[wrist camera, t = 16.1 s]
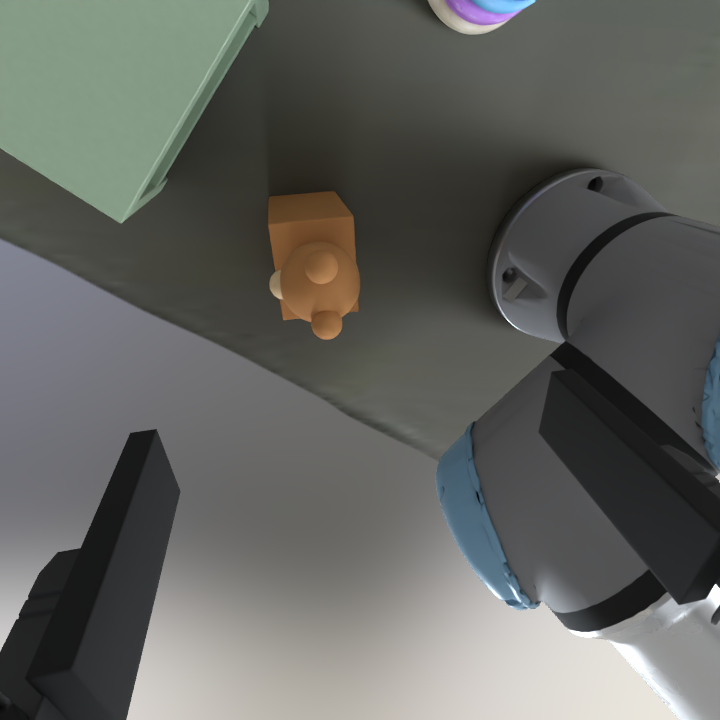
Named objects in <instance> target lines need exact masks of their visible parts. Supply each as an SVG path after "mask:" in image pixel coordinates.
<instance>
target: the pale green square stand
mask: <svg viewBox="0 0 720 720" xmlns="http://www.w3.org/2000/svg"><path fill="white" fill-rule="evenodd" d="M268 12H269V0H0V148H1V149H2V150H4V151H5V152H7V153H9V154H10V155H12V156H13V157H15V158H17V159H18V160H20V161H21V162H23V163H25V164H26V165H28V166H29V167H31V168H33V169H34V170H36V171H37V172H39V173H41V174H42V175H44V176H45V177H47V178H49V179H50V180H52V181H53V182H55V183H57V184H58V185H60V186H61V187H63V188H65V189H66V190H68V191H69V192H71V193H73V194H74V195H76V196H77V197H79V198H81V199H82V200H84V201H85V202H87V203H89V204H90V205H92V206H93V207H95V208H97V209H98V210H100V211H101V212H103V213H105V214H106V215H108V216H109V217H111V218H113V219H114V220H116V221H117V222H119V223H122V222H123V221H125V220H126V219H127V218H128V217H130V216H131V215H132V214H133V213H135V212H136V211H137V210H138V209H140V208H141V207H142V206H143V205H144V204H146V203H147V202H148V201H149V200H151V199H152V198H153V197H154V196H156V195H157V194H158V193H159V192H161V190H162V189H163V187H164V185H165V184H166V182H167V180H168V178H167V177H166V176H165V175H166V174H167V172H168V170H169V169H170V167H171V165H172V164H173V162H174V160H175V159H176V157H177V155H178V154H179V152H180V150H181V149H182V147H183V145H184V144H185V142H186V140H187V139H188V137H189V135H190V133H191V132H192V130H193V128H194V127H195V125H196V123H197V122H198V120H199V118H200V117H201V115H202V113H203V112H204V110H205V108H206V107H207V105H208V103H209V102H210V100H211V98H212V97H213V95H214V93H215V92H216V90H217V88H218V86H219V85H220V83H221V81H222V80H223V78H224V76H225V75H226V73H227V71H228V70H229V68H230V66H231V65H232V63H233V61H234V60H235V58H236V56H237V55H238V53H239V51H240V50H241V48H242V46H243V45H244V43H245V41H246V39H247V38H248V36H249V34H250V33H251V31H252V29H253V28H254V26H255V25H256V26H257V27H258V28H259V27H260V25H261V24H262V22H263V20H264V19H265V17H266V15H267V14H268Z"/></svg>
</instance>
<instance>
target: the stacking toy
mask: <svg viewBox="0 0 720 720" xmlns="http://www.w3.org/2000/svg"><path fill="white" fill-rule="evenodd" d="M535 1H536V0H428V2H429V4H430V6H431V8H432V9H433V11H434V12H435V14H436V15H437V16H438V18H439V19H440V20H441V21H442V22H443V23H445V24H446V25H447V26H449V27H450V28H452V29H453V30H455V31H458V32H460V33H464V34H471V35H473V34H483V33H487V32H489V31H492V30H494V29H496V28H498V27H500V26H501V25H503V24H505V23H506V22H507V21H508V20H509V19H511V18H512V17H513V16H515V15H516V14H517V13H519V12H520V11H521V10H522V9H524V8H526V7H527V6H529V5H531V4H532V3H534V2H535Z"/></svg>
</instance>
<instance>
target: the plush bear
mask: <svg viewBox="0 0 720 720" xmlns="http://www.w3.org/2000/svg"><path fill="white" fill-rule="evenodd" d="M268 228H269V234H270V240H271V247H272V253H273V259H274V266H275V273H274V274H273V275H272V277H271V279H270V283H269V285H270V290H271V292H272V293H273V295H274V296H276V297H277V298H279V299H280V304H281V310H282V316H283V320H289V319H298V318H301V319H303V320H306V321H309V322H311V327H312V330H313V332H314V333H315V335H316V336H318V337H319V338H321V339H332V338H334V337H336V336H337V335H338V334H339V333H340V331H341V329H342V319H341V317H343V316H344V315H345V314H347V313H348V312H355V311H359V303H358V295H359V291H360V275H359V271H358V268H357V266H356V249H355V231H354V217H353V215H352V214H351V212H350V211H349V210H348V208H347V207H346V206H345V204H344V203H343V202H342V200H341V199H340V198H339V196H338V195H337V194H336V192H335V191H327V192H315V193H303V194H292V195H280V196H269V197H268Z"/></svg>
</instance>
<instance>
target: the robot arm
mask: <svg viewBox="0 0 720 720" xmlns="http://www.w3.org/2000/svg"><path fill="white" fill-rule="evenodd" d="M486 278H487V287H488V291H489V295H490V298H491V300H492V302H493V304H494V306H495V307H496V309H497V310H498V311H499V313H500V314H501V315H502V316H503V317H504V318H505V319H506V320H508V321H509V322H510V323H511V324H512V325H513V326H514V327H516V328H517V329H519V330H521V331H522V332H525V333H527V334H530V335H533V336H536V337H540V338H543V339H547V340H551V341H554V342H558V343H562V344H561V345H560V346H559V347H558V348H557V349H556V350H555V351H554V352H553V353H552V354H550V355H549V356H548V357H547V358H545V359H544V360H543V361H542V362H541V363H540V364H539V365H538V366H537V367H536V368H534V369H533V370H532V371H531V372H530V373H529V374H528V375H527V376H526V377H525V378H523V379H522V380H521V381H520V382H519V383H518V384H517V385H516V386H515V387H514V388H513V389H511V390H510V391H509V392H508V393H507V394H506V395H505V396H504V397H503V398H502V399H500V400H499V401H498V402H497V403H496V404H495V405H494V406H493V407H492V408H491V409H489V410H488V411H487V412H486V413H485V414H484V415H483V416H482V417H481V418H480V419H478V420H477V421H474V422H473V423H471V424H470V425H469V426H468V427H467V429H466V432H465V433H464V434H463V435H462V436H461V437H460V438H459V439H458V440H457V441H456V442H455V443H454V444H453V445H452V446H451V447H450V448H449V449H448V450H447V451H446V452H445V453H444V455H443V456H442V458H441V459H440V461H439V464H438V467H437V472H436V487H437V493H438V497H439V500H440V503H441V509H442V512H443V514H444V517H445V520H446V522H447V524H448V527H449V529H450V531H451V533H452V535H453V537H454V539H455V541H456V543H457V545H458V546H459V548H460V550H461V552H462V553H463V555H464V556H465V558H466V559H467V561H468V563H469V564H470V566H471V567H472V569H473V570H474V571H475V573H476V574H477V575H478V577H479V578H480V579H481V581H482V582H483V583H484V584H485V585H486V587H487V588H488V589H490V591H491V592H492V593H493V594H494V595H496V596H497V597H498V598H499V599H500V600H504V601H506V603H507V604H508V605H509V606H511V607H513V608H515V609H517V610H526V609H528V608H530V609H535V608H537V607H538V606H539V604H540V602H541V601H542V602H544V603H545V604H546V605H547V606H548V607H549V608H550V609H551V610H552V612H553V613H554V614H555V615H556V616H557V617H558V619H559V620H560V621H561V622H562V623H563V624H564V626H565V627H567V629H568V630H569V631H570V632H572V633H573V634H575V635H578V636H581V637H589V638H596V639H604V640H609V641H610V642H611V643H612V644H613V646H614V647H615V648H616V649H617V650H618V651H619V652H620V653H621V654H622V656H623V657H624V658H625V659H626V660H627V661H628V662H629V663H630V665H631V666H632V667H633V668H634V669H635V670H636V671H637V672H638V673H639V675H640V676H641V677H642V678H643V679H644V680H645V681H646V683H648V685H649V686H650V687H651V688H652V689H653V690H654V691H655V693H656V694H657V695H658V696H659V697H660V698H661V699H662V700H663V702H664V703H665V704H666V705H667V706H668V707H669V708H670V709H671V711H672V712H673V713H674V714H675V715H676V716H677V717H678V718H679V719H680V720H720V483H719V480H718V479H716V478H715V476H717V475H718V474H719V473H720V227H719V226H715V225H712V224H708V223H704V222H700V221H696V220H693V219H689V218H685V217H681V216H677V215H674V214H670V213H669V212H668V211H666V210H665V209H664V208H663V207H662V206H661V205H660V204H659V203H658V202H657V201H656V200H655V199H654V198H652V197H651V196H650V195H649V194H648V193H647V192H646V191H645V190H644V189H643V188H642V187H641V186H639V185H638V184H637V183H636V182H635V181H633V180H632V179H630V178H629V177H626V176H624V175H622V174H619V173H616V172H611V171H606V170H601V169H596V168H579V169H573V170H569V171H565V172H562V173H560V174H557V175H554V176H552V177H550V178H548V179H546V180H545V181H543V182H541V183H540V184H538V185H537V186H535V187H534V188H533V189H531V190H530V191H529V192H528V193H527V194H525V195H524V196H523V197H522V198H521V199H520V200H519V201H518V202H517V203H516V204H515V206H514V207H513V208H512V209H511V210H510V212H509V213H508V214H507V216H506V217H505V219H504V220H503V222H502V223H501V225H500V227H499V229H498V231H497V233H496V235H495V237H494V239H493V242H492V245H491V248H490V251H489V255H488V260H487V268H486ZM179 495H180V489H179V487H178V484H177V481H176V479H175V476H174V474H173V472H172V469H171V466H170V463H169V461H168V458H167V456H166V453H165V450H164V448H163V445H162V442H161V440H160V437H159V434H158V432H157V429H155V430H147V431H141V432H134V433H130V435H129V438H128V440H127V442H126V444H125V447H124V449H123V451H122V454H121V456H120V458H119V461H118V463H117V465H116V468H115V470H114V472H113V475H112V477H111V479H110V482H109V484H108V486H107V488H106V491H105V493H104V495H103V498H102V500H101V502H100V505H99V507H98V509H97V512H96V514H95V516H94V519H93V521H92V523H91V526H90V528H89V530H88V532H87V535H86V537H85V539H84V542H83V544H82V547H81V548H80V549H74V550H69V551H63V552H58V553H57V554H56V555H55V556H54V557H53V558H52V560H51V561H50V562H49V563H48V564H47V565H46V566H45V567H44V569H43V570H42V571H41V572H40V573H39V575H38V577H37V579H36V581H35V583H34V585H33V587H32V589H31V591H30V593H29V595H28V600H26V601H25V603H24V605H23V607H22V609H21V611H20V613H19V619H17V620H16V621H15V623H14V625H13V627H12V629H11V632H10V633H9V636H8V638H7V639H6V642H5V643H4V645H3V647H2V650H1V652H0V720H126V718H127V714H128V710H129V706H130V702H131V697H132V693H133V689H134V685H135V680H136V676H137V672H138V668H139V664H140V659H141V655H142V651H143V646H144V642H145V638H146V634H147V630H148V626H149V621H150V617H151V613H152V608H153V604H154V600H155V596H156V592H157V588H158V583H159V579H160V575H161V571H162V566H163V562H164V558H165V554H166V549H167V545H168V541H169V537H170V533H171V528H172V524H173V520H174V516H175V511H176V507H177V503H178V499H179Z"/></svg>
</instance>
